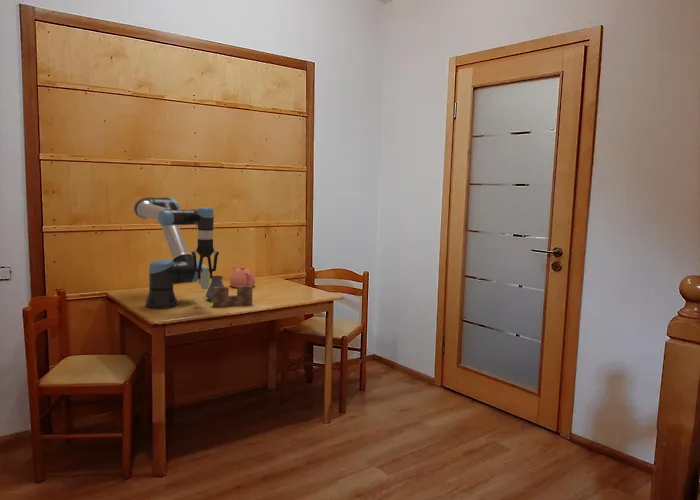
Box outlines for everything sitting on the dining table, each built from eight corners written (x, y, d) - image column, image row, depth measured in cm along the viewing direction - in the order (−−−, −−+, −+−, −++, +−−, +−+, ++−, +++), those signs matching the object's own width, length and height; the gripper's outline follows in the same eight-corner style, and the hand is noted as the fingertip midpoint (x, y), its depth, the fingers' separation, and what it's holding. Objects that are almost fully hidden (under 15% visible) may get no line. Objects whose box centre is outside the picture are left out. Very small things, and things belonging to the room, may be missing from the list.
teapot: (221, 284, 332) (222, 264, 330) (243, 282, 342) (244, 263, 340) (238, 290, 315) (239, 270, 314) (261, 288, 325) (262, 268, 324)
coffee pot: (230, 301, 288) (230, 274, 286) (209, 302, 282) (209, 275, 280) (217, 293, 306) (217, 267, 304) (197, 294, 300) (197, 268, 298)
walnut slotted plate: (213, 307, 273) (213, 288, 272) (212, 305, 276) (213, 287, 275) (252, 305, 281) (252, 286, 279) (250, 303, 283) (251, 285, 282)
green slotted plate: (202, 289, 263) (202, 269, 261) (199, 283, 275) (199, 264, 274) (208, 288, 264) (208, 269, 262) (204, 283, 276) (205, 264, 275)
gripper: (189, 239, 255) (188, 287, 258) (223, 239, 261) (222, 286, 265) (187, 237, 262) (187, 283, 265) (220, 237, 268) (220, 282, 271)
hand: (204, 284), depth 265 cm, fingers closed on green slotted plate, 3 cm apart
